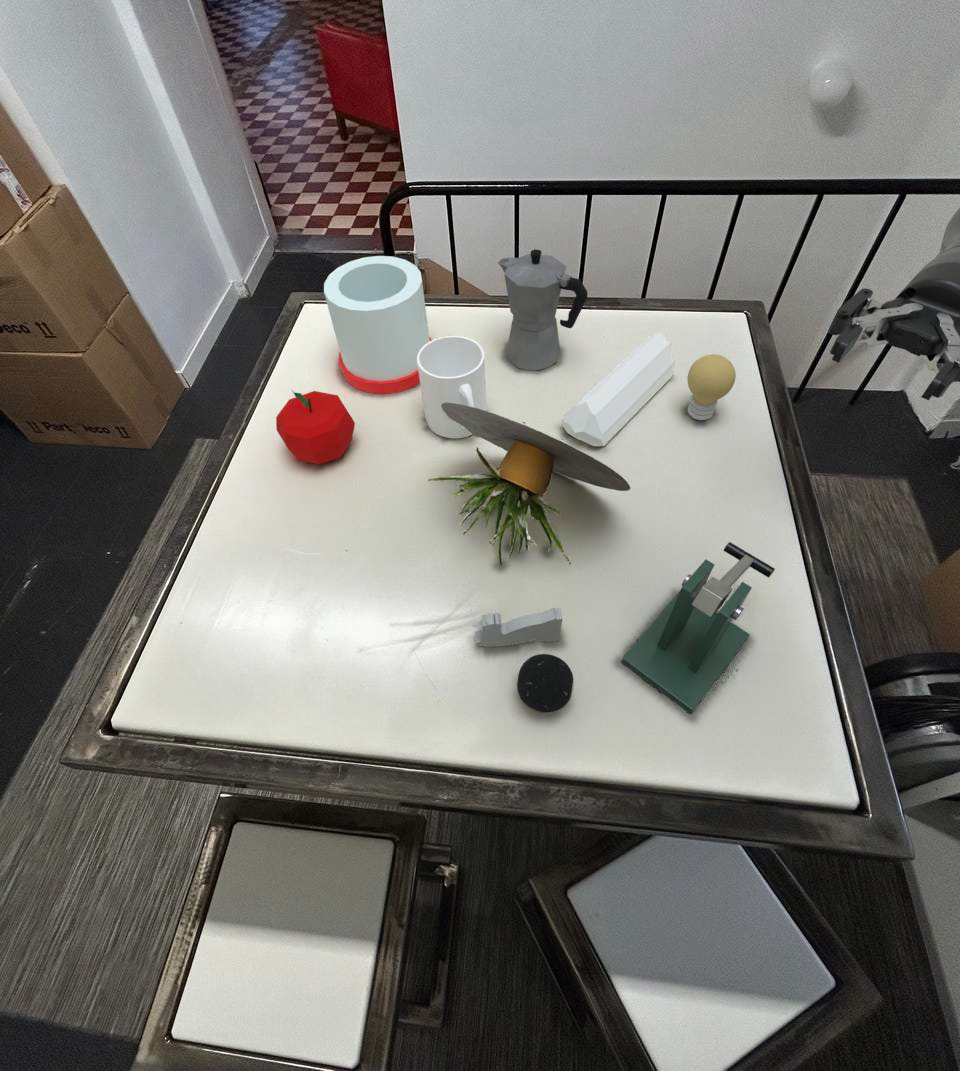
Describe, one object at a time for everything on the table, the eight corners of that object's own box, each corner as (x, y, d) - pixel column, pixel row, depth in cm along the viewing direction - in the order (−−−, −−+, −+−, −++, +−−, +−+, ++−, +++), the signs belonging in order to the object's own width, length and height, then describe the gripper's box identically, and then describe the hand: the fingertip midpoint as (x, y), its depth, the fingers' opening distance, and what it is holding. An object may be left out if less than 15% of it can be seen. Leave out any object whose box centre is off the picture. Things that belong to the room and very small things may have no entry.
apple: (373, 443, 92) (359, 391, 84) (319, 485, 87) (299, 434, 79) (326, 414, 96) (310, 361, 88) (273, 452, 92) (250, 401, 84)
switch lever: (723, 552, 70) (733, 536, 69) (768, 579, 68) (779, 563, 67) (676, 595, 61) (687, 577, 60) (726, 627, 59) (738, 609, 57)
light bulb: (689, 432, 90) (706, 378, 82) (670, 405, 94) (685, 350, 86) (729, 423, 91) (749, 369, 83) (708, 396, 95) (726, 341, 87)
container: (455, 354, 104) (447, 273, 92) (392, 407, 97) (375, 326, 85) (385, 323, 110) (370, 243, 98) (321, 370, 103) (297, 290, 91)
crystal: (609, 444, 84) (694, 356, 95) (573, 406, 84) (663, 322, 94) (582, 464, 91) (665, 380, 101) (549, 429, 91) (635, 348, 101)
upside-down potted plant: (435, 509, 93) (354, 513, 69) (485, 403, 90) (419, 368, 66) (581, 590, 87) (548, 624, 63) (641, 479, 84) (629, 471, 60)
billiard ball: (522, 664, 70) (522, 640, 65) (574, 674, 69) (579, 650, 64) (512, 714, 66) (512, 693, 61) (567, 725, 65) (571, 705, 60)
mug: (461, 390, 98) (456, 327, 89) (510, 429, 92) (510, 366, 83) (414, 417, 95) (403, 355, 86) (461, 459, 89) (455, 397, 80)
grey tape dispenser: (558, 642, 71) (473, 649, 71) (557, 631, 72) (472, 638, 72) (562, 618, 67) (471, 625, 66) (560, 607, 67) (470, 614, 67)
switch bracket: (679, 594, 74) (708, 525, 63) (747, 639, 70) (790, 573, 59) (620, 662, 69) (641, 600, 58) (690, 714, 65) (726, 658, 54)
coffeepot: (484, 356, 103) (480, 253, 89) (515, 327, 108) (515, 225, 93) (564, 388, 98) (573, 283, 83) (592, 356, 102) (606, 252, 87)
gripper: (894, 240, 65) (826, 309, 58) (1047, 287, 59) (989, 371, 52) (862, 303, 71) (796, 373, 64) (997, 353, 65) (940, 435, 58)
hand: (883, 372), depth 58 cm, fingers open, 8 cm apart
